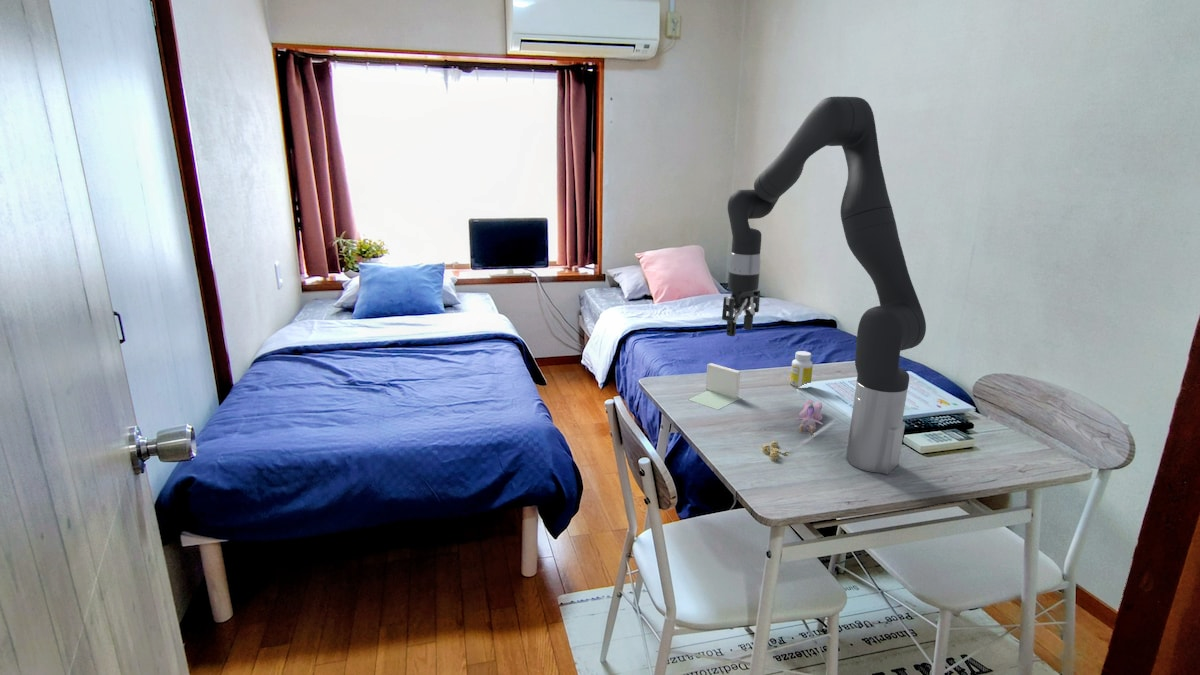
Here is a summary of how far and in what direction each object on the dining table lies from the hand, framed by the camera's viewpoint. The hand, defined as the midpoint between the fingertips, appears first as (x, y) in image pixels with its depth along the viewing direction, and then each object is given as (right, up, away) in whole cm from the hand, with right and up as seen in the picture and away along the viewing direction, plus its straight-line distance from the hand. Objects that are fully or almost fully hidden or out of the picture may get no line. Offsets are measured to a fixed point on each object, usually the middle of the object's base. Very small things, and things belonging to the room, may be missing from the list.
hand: (739, 332), depth 156 cm
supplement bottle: (+18, -15, +7) cm, 25 cm away
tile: (-1, -13, -3) cm, 14 cm away
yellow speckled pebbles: (0, -27, -29) cm, 39 cm away
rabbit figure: (+13, -22, -15) cm, 29 cm away
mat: (-3, -18, -3) cm, 18 cm away
